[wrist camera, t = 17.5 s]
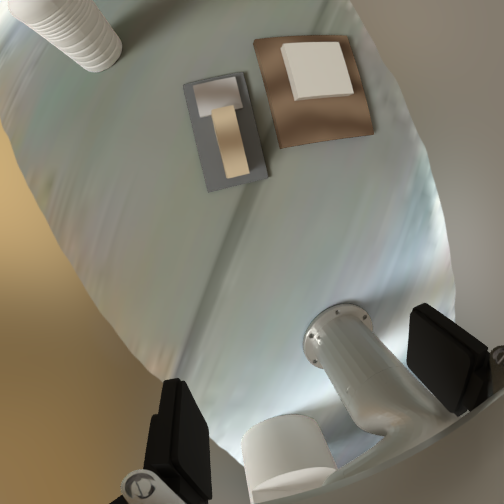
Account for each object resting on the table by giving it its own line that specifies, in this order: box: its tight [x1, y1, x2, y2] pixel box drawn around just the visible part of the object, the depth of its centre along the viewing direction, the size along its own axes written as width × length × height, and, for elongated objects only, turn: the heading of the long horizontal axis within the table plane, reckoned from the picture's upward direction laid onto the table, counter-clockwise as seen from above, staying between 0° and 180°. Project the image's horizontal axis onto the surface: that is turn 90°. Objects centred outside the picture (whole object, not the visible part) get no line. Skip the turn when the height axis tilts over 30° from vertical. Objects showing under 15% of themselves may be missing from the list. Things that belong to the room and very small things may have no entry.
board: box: [253, 35, 374, 149], centre depth 34 cm, size 16×14×2 cm
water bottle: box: [8, 0, 122, 72], centre depth 17 cm, size 9×6×25 cm
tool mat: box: [183, 72, 268, 193], centre depth 35 cm, size 15×8×1 cm, turn 13°
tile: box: [280, 42, 354, 101], centre depth 32 cm, size 2×8×8 cm
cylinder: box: [241, 414, 338, 504], centre depth 39 cm, size 17×17×28 cm
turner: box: [193, 77, 250, 178], centre depth 33 cm, size 13×6×4 cm, turn 13°
